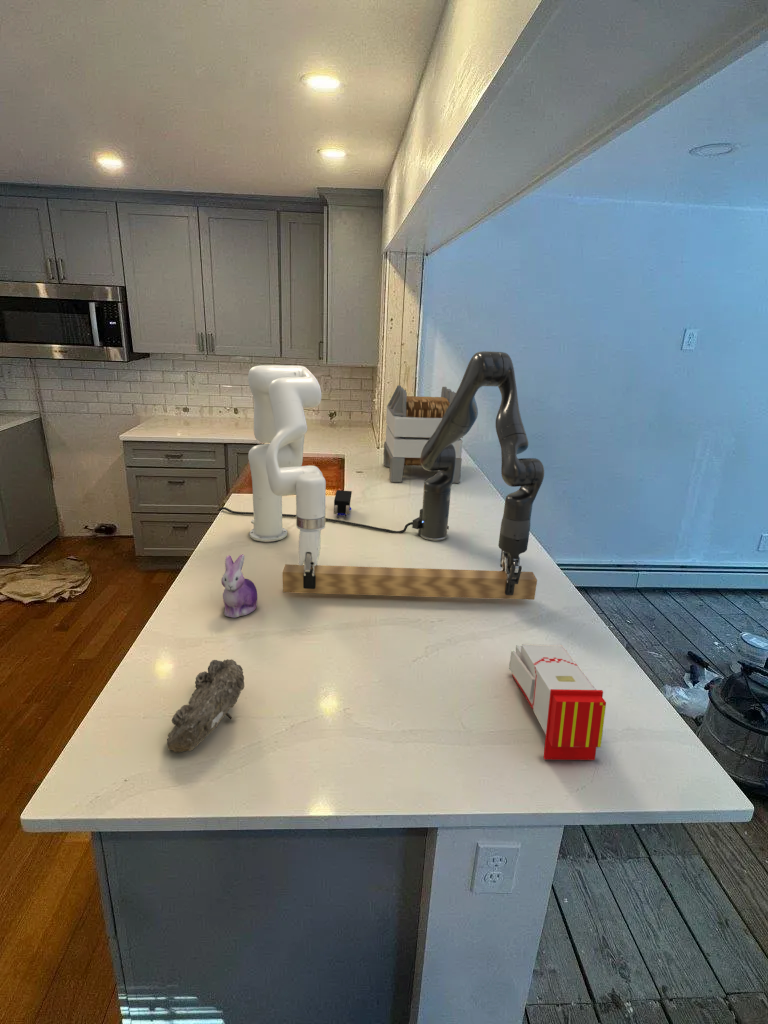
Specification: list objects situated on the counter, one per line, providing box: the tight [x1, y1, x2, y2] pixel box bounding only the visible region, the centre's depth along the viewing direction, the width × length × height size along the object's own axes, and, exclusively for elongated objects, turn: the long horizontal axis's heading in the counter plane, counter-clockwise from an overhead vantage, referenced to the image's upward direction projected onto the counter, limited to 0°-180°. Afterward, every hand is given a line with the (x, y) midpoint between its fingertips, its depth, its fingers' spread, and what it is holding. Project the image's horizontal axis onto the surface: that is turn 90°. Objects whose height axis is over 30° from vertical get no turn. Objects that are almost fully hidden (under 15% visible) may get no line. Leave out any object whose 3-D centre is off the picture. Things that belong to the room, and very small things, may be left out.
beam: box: [281, 563, 538, 601], centre depth 154 cm, size 68×5×6 cm, turn 91°
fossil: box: [166, 658, 245, 754], centre depth 106 cm, size 22×10×15 cm
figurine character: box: [333, 489, 353, 519], centre depth 215 cm, size 7×8×15 cm
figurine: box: [220, 553, 258, 618], centre depth 143 cm, size 9×10×15 cm
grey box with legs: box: [383, 384, 464, 484], centre depth 268 cm, size 34×33×41 cm
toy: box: [508, 643, 607, 761], centre depth 112 cm, size 12×13×30 cm
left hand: (310, 582), depth 154 cm, fingers closed on beam, 4 cm apart
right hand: (506, 589), depth 155 cm, fingers closed on beam, 5 cm apart
